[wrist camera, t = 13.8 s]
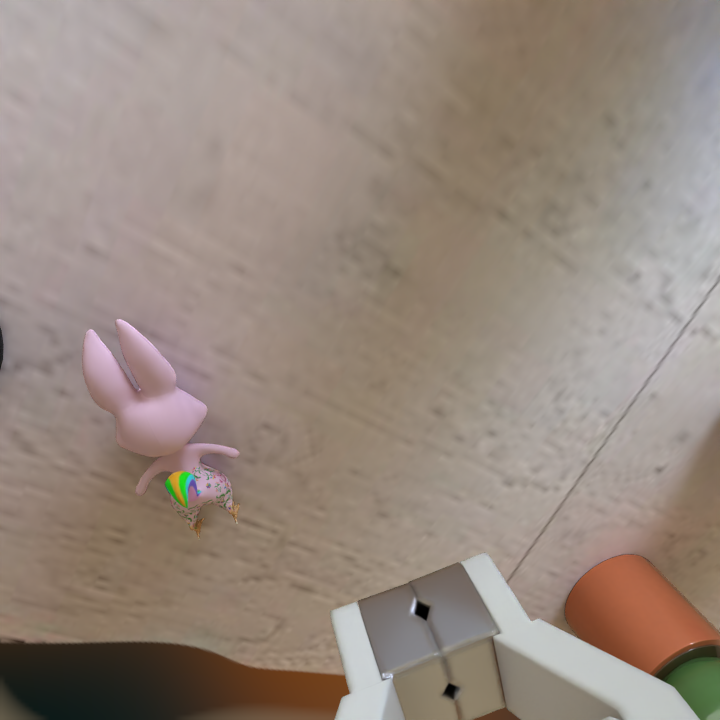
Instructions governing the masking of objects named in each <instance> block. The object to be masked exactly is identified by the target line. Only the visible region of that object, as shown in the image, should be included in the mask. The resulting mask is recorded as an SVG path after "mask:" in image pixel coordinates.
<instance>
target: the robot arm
mask: <svg viewBox="0 0 720 720" xmlns="http://www.w3.org/2000/svg"><path fill="white" fill-rule="evenodd" d="M358 605H359V606H358ZM359 608H360V609H359ZM360 611H361V612H360ZM361 614H362V615H361ZM330 616H331V622H332V626H333V630H334V634H335V638H336V642H337V646H338V650H339V653H340V657H341V661H342V665H343V669H344V673H345V677H346V681H347V684H348V688H349V692H350V694H349V695H346V696H344V697H342V699H341V702H340V705H339V708H338V711H337V714H336V717H335V720H472V719H475V718H478V717H480V716H483V715H486V714H488V713H491V712H494V711H496V710H499V709H501V708H504V707H507V710H509V711H510V712H511V713H513V714H514V715H515V716H517V717H518V718H519V719H521V720H700V719H699V718H698V717H697V715H696V714H695V713H694V711H693V710H692V709H691V708H690V706H689V705H688V704H687V703H686V701H685V700H684V699H683V698H682V696H681V695H680V694H679V693H678V691H677V690H676V689H675V688H674V687H673V686H671V685H669V684H667V683H665V682H663V681H661V680H659V679H657V678H655V677H653V676H652V675H650V674H648V673H646V672H644V671H642V670H640V669H638V668H636V667H634V666H632V665H630V664H628V663H626V662H624V661H622V660H620V659H618V658H616V657H614V656H612V655H610V654H608V653H606V652H604V651H602V650H600V649H598V648H596V647H594V646H592V645H590V644H588V643H586V642H584V641H582V640H580V639H578V638H576V637H574V636H573V635H571V634H569V633H567V632H565V631H563V630H561V629H559V628H557V627H555V626H553V625H551V624H549V623H547V622H545V621H543V620H541V619H536V620H533V621H531V620H530V619H529V617H528V616H527V614H526V612H525V611H524V609H523V608H522V606H521V605H520V603H519V601H518V600H517V598H516V597H515V595H514V594H513V592H512V590H511V589H510V587H509V586H508V584H507V582H506V581H505V579H504V578H503V576H502V575H501V573H500V571H499V570H498V568H497V567H496V565H495V564H494V562H493V560H492V559H491V557H490V556H489V555H488V554H487V553H485V552H484V553H482V554H479V555H477V556H474V557H471V558H469V559H466V560H464V561H461V562H460V563H455V564H452V565H450V566H447V567H445V568H442V569H440V570H437V571H435V572H432V573H430V574H427V575H425V576H422V577H420V578H417V579H415V580H412V581H410V582H409V583H407V584H404V585H401V586H398V587H395V588H392V589H390V590H387V591H384V592H381V593H378V594H375V595H373V596H370V597H367V598H364V599H361V600H358V603H357V602H354V603H351V604H348V605H346V606H343V607H340V608H337V609H335V610H332V611H330Z"/></svg>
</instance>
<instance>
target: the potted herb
mask: <svg viewBox="0 0 720 720" xmlns="http://www.w3.org/2000/svg"><path fill="white" fill-rule="evenodd" d="M565 618H566V621H567V624H568V625H569V626H570V628H571V629H572V631H573V632H574V633H575V635H576V636H577V638H578V639H580V640H582V641H584V642H586V643H588V644H590V645H592V646H594V647H596V648H598V649H600V650H602V651H604V652H606V653H608V654H610V655H612V656H614V657H616V658H618V659H620V660H622V661H624V662H626V663H628V664H630V665H632V666H634V667H636V668H638V669H640V670H642V671H644V672H646V673H648V674H650V675H652V676H653V677H655V678H657V679H659V680H661V681H663V682H665V683H667V684H669V685H671V686H673V687H674V688H675V689H676V690H677V691H678V693H679V694H680V695H681V696H682V698H683V699H684V700H685V701H686V703H687V704H688V705H689V706H690V708H691V709H692V710H693V711H694V713H695V714H696V715H697V717H698V718H699V719H700V720H720V632H719V631H718V630H717V629H716V628H715V627H714V626H713V625H712V624H711V623H710V622H709V621H708V619H707V618H706V617H705V616H704V615H703V614H702V613H701V612H700V611H699V610H698V609H697V608H696V607H695V606H694V605H693V604H692V603H691V602H690V601H689V600H688V599H687V598H686V597H685V596H684V595H683V594H682V593H681V592H680V591H679V590H678V589H677V588H676V587H675V586H674V585H673V584H672V583H671V582H670V581H669V580H668V579H667V578H666V577H665V576H664V575H663V574H662V573H661V572H660V571H659V570H658V569H657V568H656V567H655V566H654V565H653V564H652V563H651V562H650V561H649V560H647V559H646V558H644V557H642V556H639V555H621V556H616V557H613V558H610V559H608V560H606V561H604V562H602V563H600V564H598V565H596V566H595V567H594V568H592V569H591V570H590V571H588V572H587V573H586V574H585V575H584V576H583V577H582V578H581V579H580V580H579V581H578V582H577V583H576V585H575V586H574V588H573V589H572V591H571V593H570V594H569V597H568V599H567V602H566V606H565Z"/></svg>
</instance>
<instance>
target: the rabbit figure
mask: <svg viewBox="0 0 720 720" xmlns="http://www.w3.org/2000/svg"><path fill="white" fill-rule="evenodd" d="M115 325H116V328H117V332H118V336H119V341H120V346H121V349H122V353H123V356H124V358H125V361H126V363H127V364H128V366H129V368H130V370H131V372H132V374H133V376H134V378H135V380H136V382H137V384H138V386H139V387H140V389H138V390H136V389H135V388H134V387H133V385H132V383H131V382H130V380H129V378H128V377H127V375H126V374H125V372H124V371H123V369H122V368H121V366H120V365H119V363H118V361H117V360H116V359H115V357H114V356H113V354H112V353H111V352H110V350H109V349H108V348H107V347H106V346H105V344H104V343H103V342H102V341H101V340H100V338H99V337H98V336H97V334H96V333H95V332H94V330H92V329H90V330H88V331H87V332H86V334H85V338H84V343H83V353H82V369H83V375H84V379H85V382H86V385H87V388H88V390H89V393H90V395H91V396H92V398H93V400H94V401H95V402H96V403H97V405H99V406H100V407H101V408H102V409H104V410H106V411H108V412H110V413H112V414H113V415H114V416H115V418H116V442H117V443H118V445H119V446H121V447H122V448H124V449H127V450H129V451H132V452H135V453H138V454H140V455H144V456H149V457H159V458H158V459H157V460H156V461H154V462H153V463H152V464H151V466H150V467H149V468H148V469H147V470H146V472H145V473H144V474H143V476H142V477H141V479H140V481H139V483H138V485H137V487H136V490H135V492H136V494H137V495H139V496H140V495H143V494H144V493H145V492H146V489H147V486H148V483H149V482H150V480H151V479H152V478H153V477H154V476H155V475H157V474H158V473H160V472H162V471H168V472H171V473H172V474H171V475H170V476H169V477H168V479H167V481H166V483H165V487H166V489H167V491H168V492H169V493H170V494H171V496H170V501H171V504H172V506H173V508H174V509H175V510H176V511H177V512H178V513H179V515H180V516H181V517H182V518H183V519H184V520H185V521H186V522H187V523H188V525H189V527H190V529H191V530H194V531H196V533H197V535H198V539H199V540H200V536H199V533H200V528H201V524H202V521H203V520H204V519H205V518H203V519H201V520H199V521H198V520H197V517H198V514H199V511H200V509H201V506H203V505H206V504H211V503H213V504H215V505H217V506H219V507H221V508H223V509H225V510H226V511H227V510H228V512H229V513H230V514H232V516H233V517H234V519H235V522H236V524H237V520H236V518H237V513H238V510H239V505H240V503H238V505H237V506H235V505H234V502H233V503H232V487H231V484H230V481H229V480H228V478H227V477H226V476H225V475H224V474H223V473H222V472H220V471H218V470H216V469H214V468H211V467H209V466H206V465H204V464H202V463H201V462H200V458H201V457H202V456H203V455H205V454H211V453H216V454H223V455H226V456H228V457H230V458H237V457H238V456H239V451H238V450H236V449H234V448H230V447H226V446H222V445H216V444H206V443H194V444H193V443H188V442H189V440H190V439H191V438H192V437H193V435H194V434H195V433H196V431H197V430H198V428H199V427H200V426H201V424H202V422H203V420H204V419H205V417H206V414H207V407H206V405H205V404H204V403H202V402H201V401H199V400H197V399H196V398H194V397H193V396H191V395H190V394H188V393H186V392H185V391H183V390H181V389H179V388H178V387H177V386H176V373H175V371H174V369H173V368H172V366H171V365H170V364H169V362H168V361H167V360H166V359H165V358H164V357H163V356H162V354H161V353H160V352H159V351H158V350H157V349H156V348H155V347H154V346H153V345H152V344H151V343H150V342H149V341H148V340H147V339H146V338H145V337H144V336H143V335H142V334H140V333H139V332H138V331H137V330H136V329H135V328H134V327H132V326H131V325H130V324H128V323H127V322H125V321H123V320H120V319H118V320H116V321H115Z"/></svg>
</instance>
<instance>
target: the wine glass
mask: <svg viewBox="0 0 720 720" xmlns="http://www.w3.org/2000/svg"><path fill="white" fill-rule="evenodd" d="M2 360H3V339H2V332H1V328H0V369H1V364H2Z"/></svg>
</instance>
